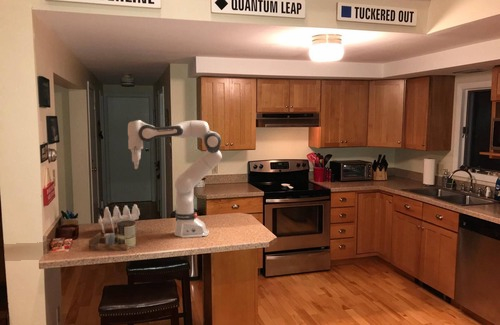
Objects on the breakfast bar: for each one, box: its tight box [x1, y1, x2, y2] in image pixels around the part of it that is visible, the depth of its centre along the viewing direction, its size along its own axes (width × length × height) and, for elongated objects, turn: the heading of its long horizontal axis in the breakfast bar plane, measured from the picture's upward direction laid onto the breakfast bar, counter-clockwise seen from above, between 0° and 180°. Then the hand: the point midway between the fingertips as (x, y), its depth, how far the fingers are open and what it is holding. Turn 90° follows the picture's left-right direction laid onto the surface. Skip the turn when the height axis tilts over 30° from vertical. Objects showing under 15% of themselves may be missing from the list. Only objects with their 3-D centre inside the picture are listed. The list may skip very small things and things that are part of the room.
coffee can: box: [116, 220, 137, 250], centre depth 232 cm, size 10×10×14 cm
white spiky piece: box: [98, 204, 141, 235], centre depth 262 cm, size 18×18×25 cm
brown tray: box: [88, 232, 128, 252], centre depth 232 cm, size 21×16×6 cm
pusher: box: [103, 232, 116, 245], centre depth 232 cm, size 4×12×7 cm, turn 1°
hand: (136, 167), depth 249 cm, fingers open, 8 cm apart
